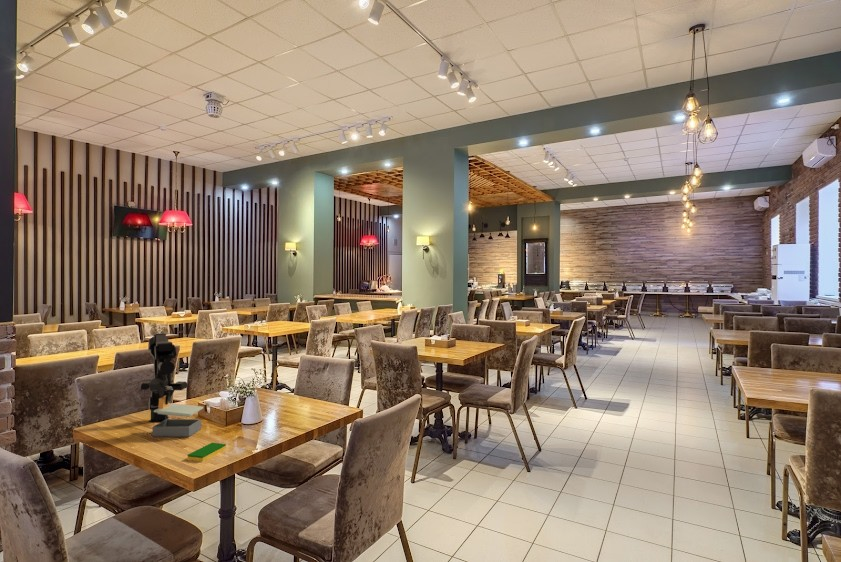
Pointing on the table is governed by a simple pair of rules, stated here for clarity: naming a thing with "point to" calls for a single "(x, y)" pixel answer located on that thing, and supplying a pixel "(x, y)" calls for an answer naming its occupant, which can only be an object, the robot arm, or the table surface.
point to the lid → (176, 408)
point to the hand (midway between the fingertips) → (164, 404)
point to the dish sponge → (206, 452)
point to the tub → (177, 428)
